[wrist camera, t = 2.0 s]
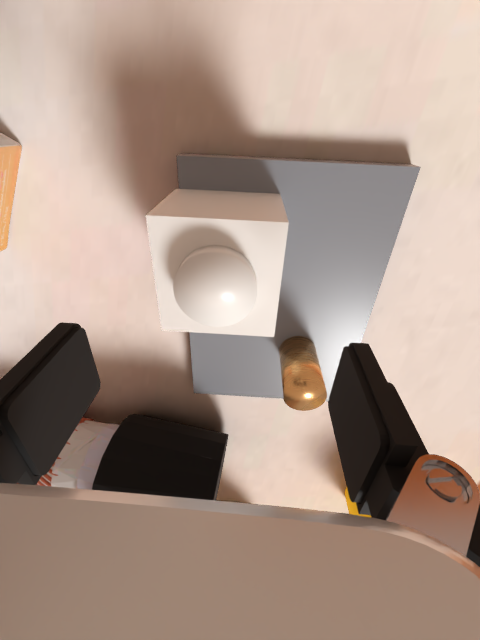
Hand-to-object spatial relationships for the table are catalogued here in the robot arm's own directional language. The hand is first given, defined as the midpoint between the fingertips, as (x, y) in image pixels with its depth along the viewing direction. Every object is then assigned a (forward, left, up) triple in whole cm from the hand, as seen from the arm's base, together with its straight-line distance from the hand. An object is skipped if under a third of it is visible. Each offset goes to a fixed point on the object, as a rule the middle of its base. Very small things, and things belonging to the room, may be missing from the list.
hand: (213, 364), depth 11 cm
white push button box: (-1, 0, -11) cm, 11 cm away
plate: (+4, +4, -13) cm, 14 cm away
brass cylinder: (+8, +6, -11) cm, 15 cm away
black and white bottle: (+21, -17, -13) cm, 30 cm away
